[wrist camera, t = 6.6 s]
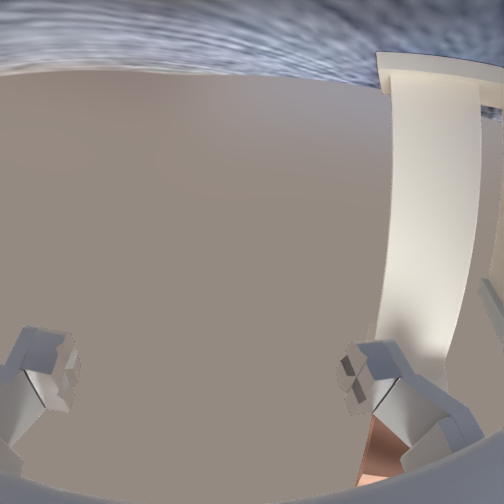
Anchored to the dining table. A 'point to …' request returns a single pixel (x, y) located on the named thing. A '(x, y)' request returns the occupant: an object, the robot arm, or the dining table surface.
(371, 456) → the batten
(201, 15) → the dining table surface
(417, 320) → the stand
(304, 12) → the dining table surface
